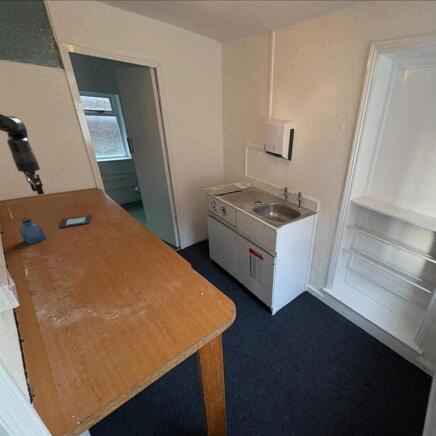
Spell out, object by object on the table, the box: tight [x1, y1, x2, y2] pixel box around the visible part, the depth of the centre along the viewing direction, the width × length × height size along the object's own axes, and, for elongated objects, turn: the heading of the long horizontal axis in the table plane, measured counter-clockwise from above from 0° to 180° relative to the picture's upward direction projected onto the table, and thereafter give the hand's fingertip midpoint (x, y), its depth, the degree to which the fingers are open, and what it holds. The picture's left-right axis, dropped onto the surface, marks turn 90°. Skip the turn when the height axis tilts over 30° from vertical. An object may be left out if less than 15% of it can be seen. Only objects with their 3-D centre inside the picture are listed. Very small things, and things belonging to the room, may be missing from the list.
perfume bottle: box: [19, 217, 47, 245], centre depth 115 cm, size 6×6×12 cm
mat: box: [59, 215, 92, 229], centre depth 139 cm, size 13×13×1 cm
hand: (38, 192), depth 120 cm, fingers open, 8 cm apart
